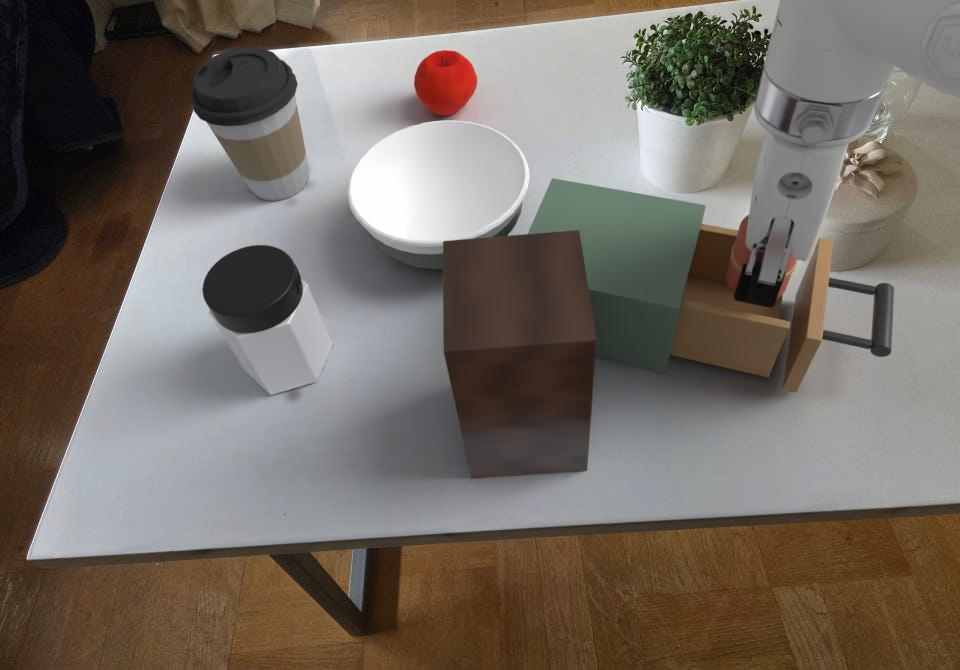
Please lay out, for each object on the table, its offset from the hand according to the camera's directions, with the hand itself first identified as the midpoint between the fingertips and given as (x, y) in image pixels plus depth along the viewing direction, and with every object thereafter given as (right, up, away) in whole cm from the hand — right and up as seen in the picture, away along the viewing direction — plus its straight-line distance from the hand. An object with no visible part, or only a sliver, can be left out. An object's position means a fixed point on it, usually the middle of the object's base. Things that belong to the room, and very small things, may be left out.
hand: (758, 274), depth 62 cm
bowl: (-27, +6, +18) cm, 34 cm away
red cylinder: (0, 0, +1) cm, 1 cm away
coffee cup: (-48, +13, +26) cm, 56 cm away
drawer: (+2, -5, +6) cm, 8 cm away
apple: (-28, +24, +32) cm, 49 cm away
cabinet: (-11, -2, +10) cm, 16 cm away
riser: (-20, -13, +3) cm, 24 cm away
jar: (-43, -8, +10) cm, 44 cm away
